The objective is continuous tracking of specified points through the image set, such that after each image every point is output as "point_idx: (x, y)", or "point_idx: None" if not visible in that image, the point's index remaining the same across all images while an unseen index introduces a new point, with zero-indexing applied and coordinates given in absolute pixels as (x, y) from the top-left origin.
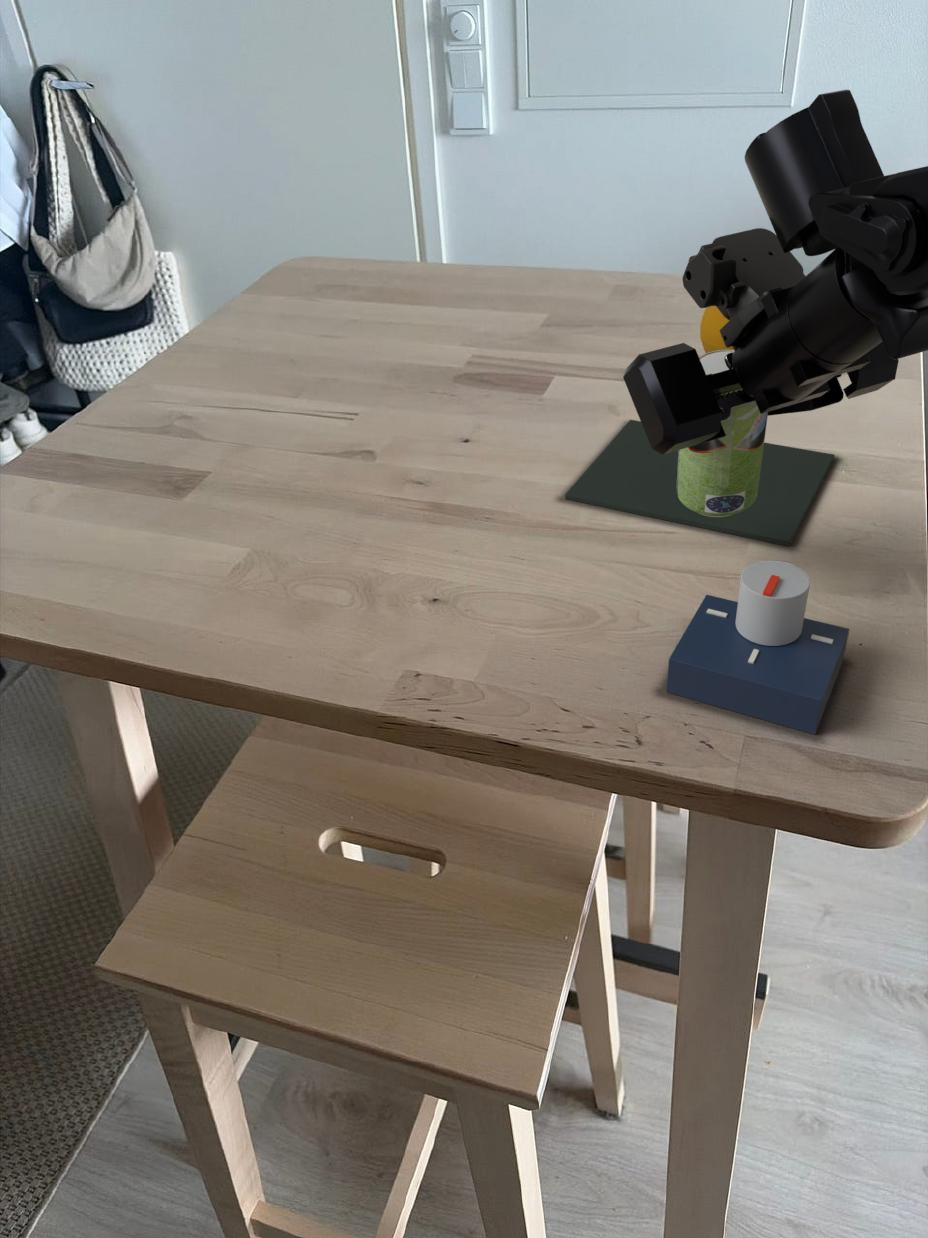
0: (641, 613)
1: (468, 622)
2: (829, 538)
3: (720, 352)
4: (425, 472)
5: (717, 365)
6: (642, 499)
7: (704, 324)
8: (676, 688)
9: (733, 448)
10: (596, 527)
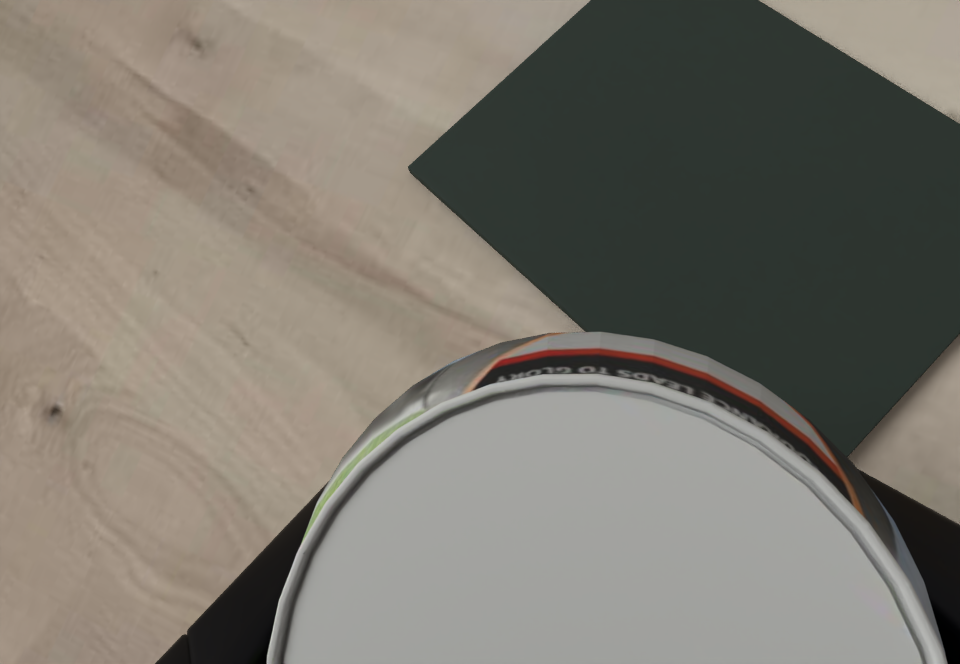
0: None
1: (70, 503)
2: None
3: (638, 413)
4: (220, 13)
5: (516, 602)
6: (545, 235)
7: None
8: None
9: None
10: (422, 288)
